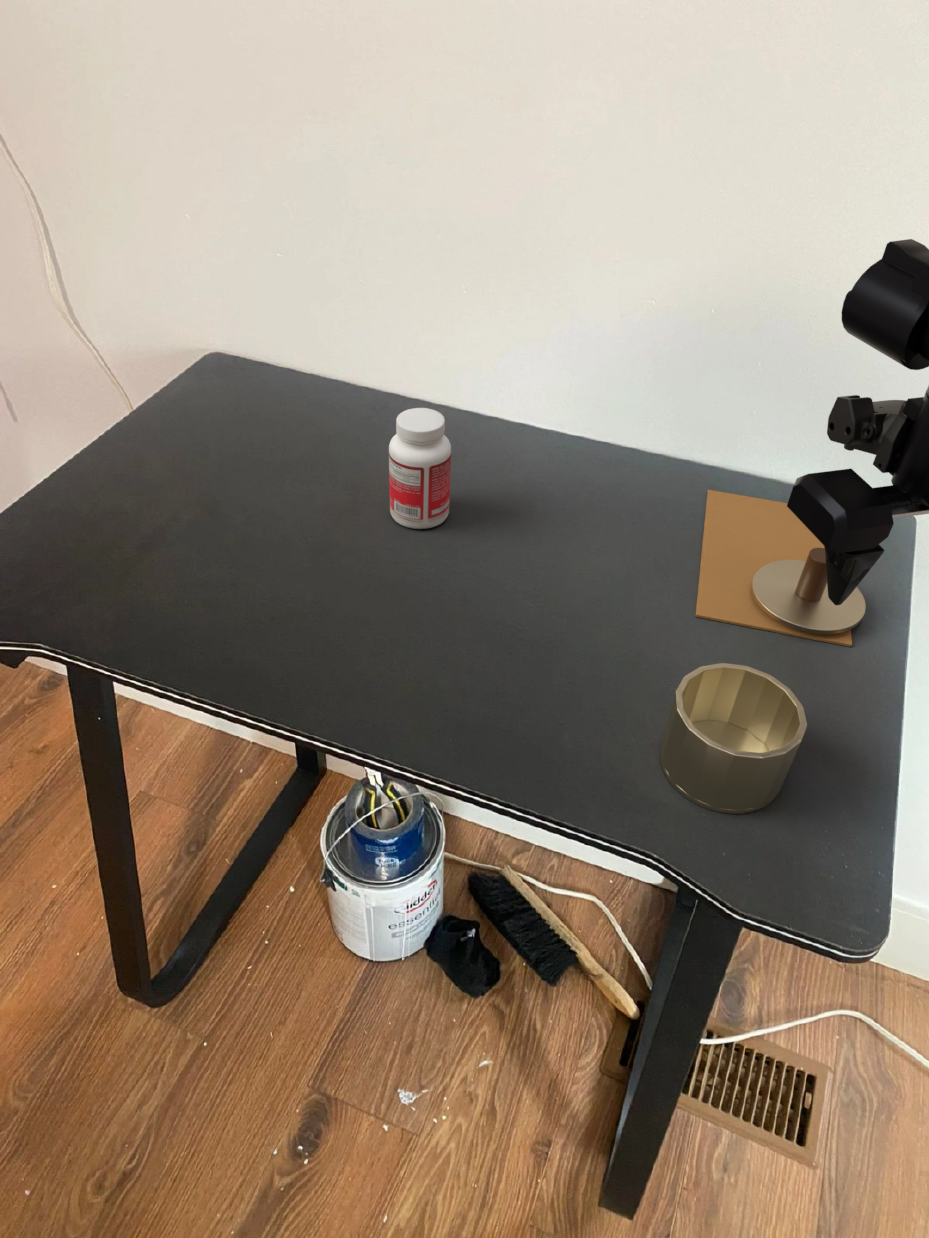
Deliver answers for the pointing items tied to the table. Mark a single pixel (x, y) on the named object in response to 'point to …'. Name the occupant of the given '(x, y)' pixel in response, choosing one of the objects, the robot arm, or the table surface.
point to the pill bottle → (419, 469)
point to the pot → (731, 737)
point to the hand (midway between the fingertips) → (887, 592)
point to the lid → (805, 596)
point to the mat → (749, 560)
